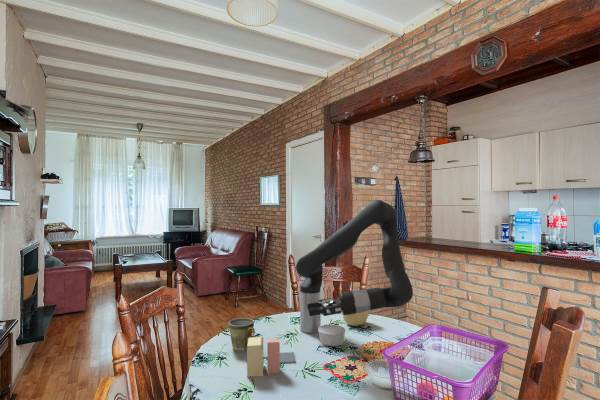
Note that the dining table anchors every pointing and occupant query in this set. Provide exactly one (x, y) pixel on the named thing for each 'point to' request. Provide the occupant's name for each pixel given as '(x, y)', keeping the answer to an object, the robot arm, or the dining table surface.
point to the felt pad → (287, 357)
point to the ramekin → (331, 335)
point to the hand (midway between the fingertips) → (308, 309)
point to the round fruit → (356, 318)
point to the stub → (273, 355)
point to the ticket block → (255, 357)
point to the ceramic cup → (241, 332)
